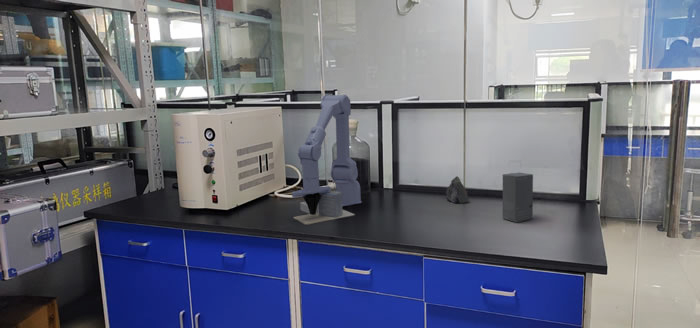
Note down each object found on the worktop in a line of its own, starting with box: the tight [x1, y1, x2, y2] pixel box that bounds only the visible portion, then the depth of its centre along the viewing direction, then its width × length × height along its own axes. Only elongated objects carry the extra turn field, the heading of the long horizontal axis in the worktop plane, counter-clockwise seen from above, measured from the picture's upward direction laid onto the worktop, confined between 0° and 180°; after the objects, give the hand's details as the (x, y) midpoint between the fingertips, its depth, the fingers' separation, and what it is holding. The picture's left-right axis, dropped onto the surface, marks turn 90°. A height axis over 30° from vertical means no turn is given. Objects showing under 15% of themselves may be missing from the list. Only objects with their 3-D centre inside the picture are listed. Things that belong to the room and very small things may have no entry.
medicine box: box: [318, 190, 344, 217], centre depth 181 cm, size 8×4×9 cm, turn 59°
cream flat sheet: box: [292, 208, 356, 226], centre depth 181 cm, size 20×11×1 cm, turn 120°
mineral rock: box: [445, 176, 469, 204], centre depth 198 cm, size 13×11×10 cm
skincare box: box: [502, 172, 534, 224], centre depth 168 cm, size 8×7×16 cm
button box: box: [299, 201, 319, 214], centre depth 190 cm, size 8×8×3 cm
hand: (312, 214), depth 179 cm, fingers closed
